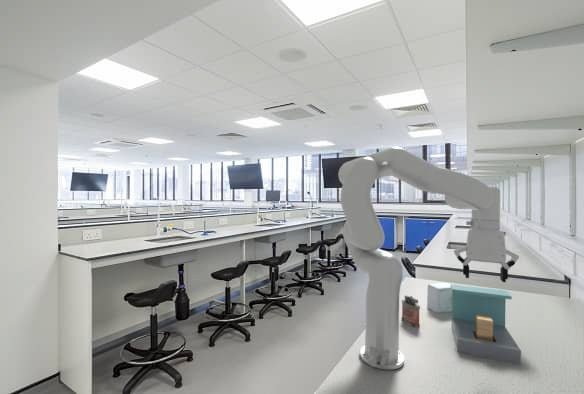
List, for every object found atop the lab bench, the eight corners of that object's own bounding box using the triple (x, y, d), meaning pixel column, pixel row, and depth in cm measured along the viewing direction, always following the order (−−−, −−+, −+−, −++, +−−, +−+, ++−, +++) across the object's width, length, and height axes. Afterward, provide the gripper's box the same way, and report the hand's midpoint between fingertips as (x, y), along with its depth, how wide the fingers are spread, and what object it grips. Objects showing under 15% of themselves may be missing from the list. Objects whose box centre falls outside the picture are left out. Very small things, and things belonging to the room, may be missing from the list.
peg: (492, 353, 89) (493, 321, 89) (477, 350, 90) (477, 318, 90) (490, 347, 92) (490, 316, 92) (475, 344, 94) (475, 314, 94)
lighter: (399, 319, 113) (399, 293, 113) (406, 318, 114) (406, 293, 114) (414, 328, 106) (415, 300, 106) (422, 326, 107) (422, 299, 107)
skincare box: (438, 313, 120) (438, 288, 120) (426, 307, 126) (426, 283, 126) (457, 310, 123) (458, 286, 123) (445, 305, 129) (446, 282, 129)
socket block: (522, 364, 83) (523, 309, 83) (455, 351, 90) (455, 299, 90) (506, 337, 99) (506, 291, 99) (450, 327, 106) (450, 284, 106)
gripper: (455, 224, 92) (454, 278, 91) (522, 227, 84) (522, 286, 84) (453, 223, 98) (452, 273, 98) (515, 225, 91) (514, 279, 91)
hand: (484, 279), depth 91 cm, fingers open, 9 cm apart
